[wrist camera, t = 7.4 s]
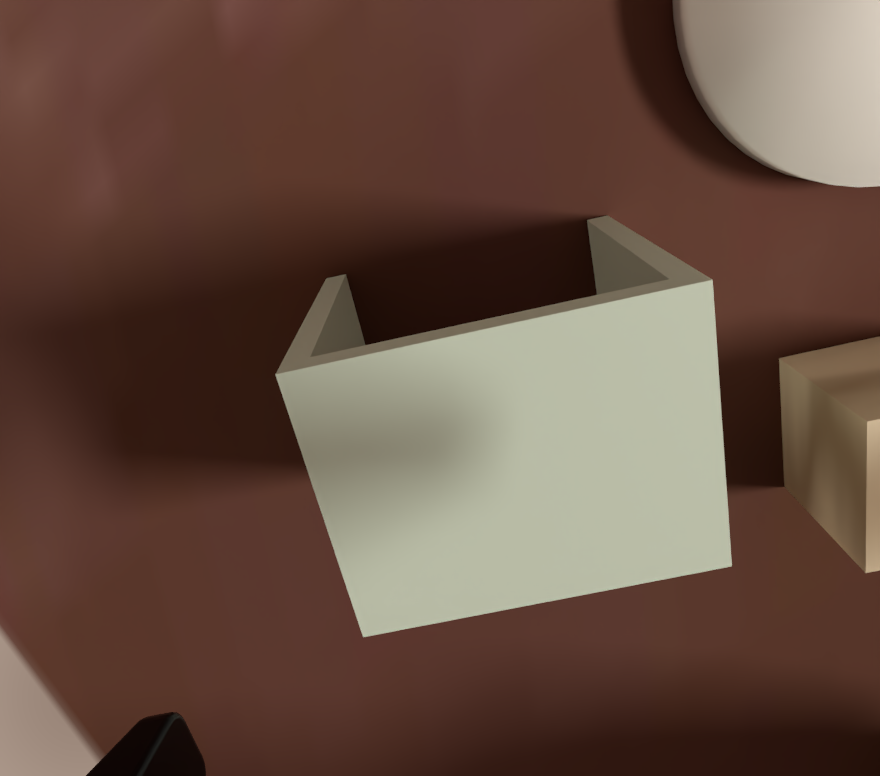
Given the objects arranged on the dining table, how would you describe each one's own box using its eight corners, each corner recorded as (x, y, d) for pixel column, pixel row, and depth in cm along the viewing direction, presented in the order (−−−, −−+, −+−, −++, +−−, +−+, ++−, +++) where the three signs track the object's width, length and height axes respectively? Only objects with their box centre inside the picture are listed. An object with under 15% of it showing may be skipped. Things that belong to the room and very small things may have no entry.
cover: (632, 417, 19) (732, 566, 13) (381, 469, 19) (363, 636, 13) (607, 215, 17) (712, 279, 11) (326, 278, 17) (275, 374, 11)
